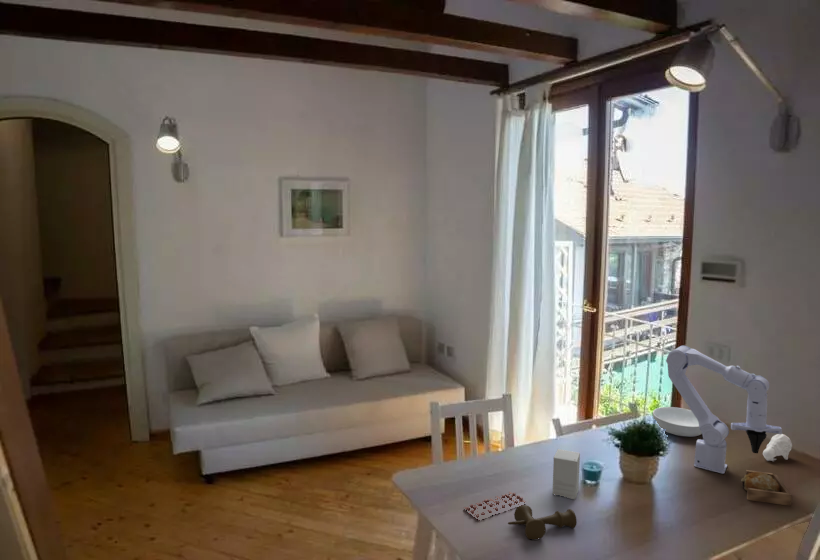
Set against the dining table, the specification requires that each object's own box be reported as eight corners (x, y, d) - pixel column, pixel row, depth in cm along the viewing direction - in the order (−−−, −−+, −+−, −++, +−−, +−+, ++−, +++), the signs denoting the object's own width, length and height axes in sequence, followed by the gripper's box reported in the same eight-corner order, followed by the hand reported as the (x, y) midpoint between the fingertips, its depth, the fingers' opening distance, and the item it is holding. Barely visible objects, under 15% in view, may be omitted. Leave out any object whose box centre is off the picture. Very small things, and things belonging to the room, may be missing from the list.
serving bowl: (659, 440, 219) (660, 423, 218) (646, 420, 239) (647, 405, 238) (716, 444, 216) (717, 427, 215) (697, 424, 236) (699, 408, 235)
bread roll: (757, 509, 176) (770, 493, 172) (731, 483, 184) (743, 467, 180) (778, 503, 179) (791, 487, 175) (752, 477, 187) (764, 461, 183)
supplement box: (579, 489, 180) (581, 452, 178) (575, 500, 173) (577, 461, 172) (555, 484, 183) (557, 448, 181) (551, 495, 176) (553, 457, 175)
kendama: (581, 537, 155) (513, 543, 151) (565, 519, 164) (501, 524, 160) (582, 517, 154) (515, 522, 150) (566, 500, 164) (502, 504, 159)
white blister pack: (527, 505, 171) (527, 499, 171) (478, 523, 161) (479, 516, 161) (511, 494, 177) (511, 489, 177) (463, 511, 167) (463, 505, 167)
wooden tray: (747, 499, 174) (748, 489, 174) (734, 478, 188) (735, 468, 188) (790, 505, 171) (791, 495, 171) (774, 483, 185) (775, 473, 185)
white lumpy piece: (794, 435, 203) (775, 445, 197) (793, 457, 204) (774, 467, 199) (776, 429, 208) (757, 438, 203) (775, 450, 210) (756, 460, 204)
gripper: (734, 414, 184) (733, 454, 186) (785, 419, 180) (783, 459, 181) (730, 408, 191) (728, 446, 192) (779, 411, 186) (777, 450, 188)
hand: (754, 452), depth 187 cm, fingers closed
